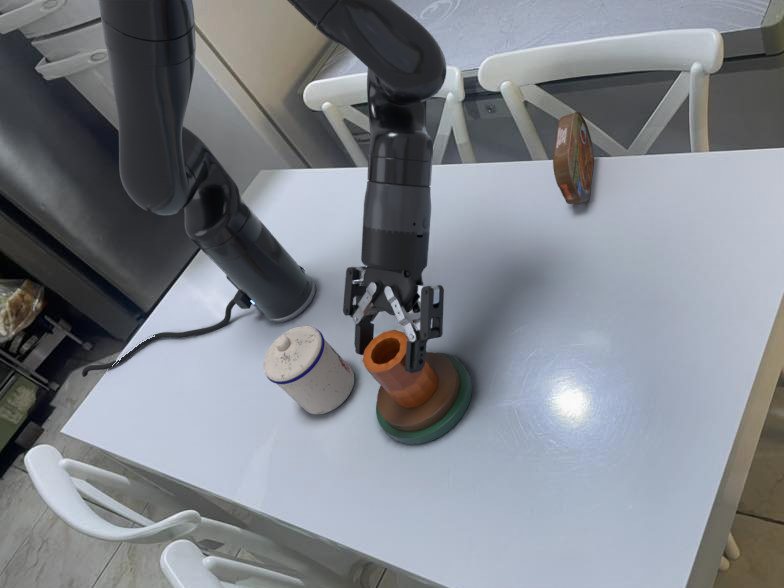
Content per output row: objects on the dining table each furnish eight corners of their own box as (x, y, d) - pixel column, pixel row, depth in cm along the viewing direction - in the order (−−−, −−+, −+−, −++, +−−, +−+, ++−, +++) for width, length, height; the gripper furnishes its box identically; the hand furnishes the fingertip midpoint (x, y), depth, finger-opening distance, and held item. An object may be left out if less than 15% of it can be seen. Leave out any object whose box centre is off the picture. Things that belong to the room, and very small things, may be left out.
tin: (588, 213, 99) (570, 168, 93) (566, 217, 100) (548, 172, 94) (595, 144, 107) (580, 98, 101) (575, 149, 108) (559, 103, 102)
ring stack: (366, 440, 90) (354, 428, 88) (402, 357, 97) (391, 344, 95) (453, 449, 84) (442, 436, 82) (484, 360, 91) (475, 346, 88)
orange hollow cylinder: (386, 400, 89) (353, 364, 83) (412, 362, 91) (382, 325, 85) (420, 413, 86) (388, 377, 80) (446, 374, 88) (417, 336, 82)
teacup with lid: (368, 370, 98) (322, 318, 89) (332, 424, 95) (281, 376, 86) (312, 353, 105) (264, 304, 96) (277, 403, 101) (224, 357, 93)
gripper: (329, 217, 81) (324, 352, 85) (418, 234, 72) (408, 383, 77) (378, 217, 86) (371, 344, 91) (466, 233, 78) (453, 372, 82)
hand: (388, 362), depth 84 cm, fingers open, 8 cm apart
